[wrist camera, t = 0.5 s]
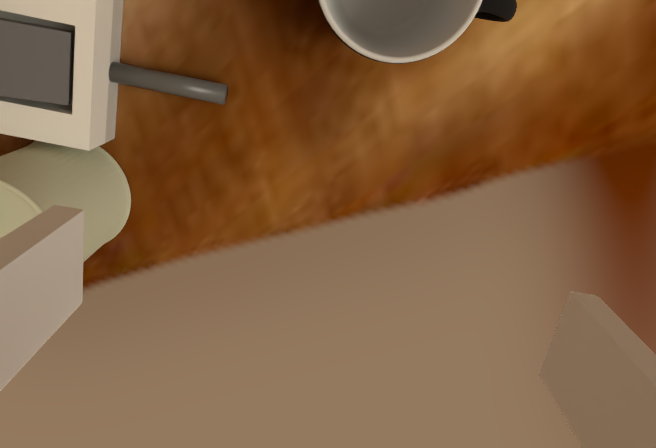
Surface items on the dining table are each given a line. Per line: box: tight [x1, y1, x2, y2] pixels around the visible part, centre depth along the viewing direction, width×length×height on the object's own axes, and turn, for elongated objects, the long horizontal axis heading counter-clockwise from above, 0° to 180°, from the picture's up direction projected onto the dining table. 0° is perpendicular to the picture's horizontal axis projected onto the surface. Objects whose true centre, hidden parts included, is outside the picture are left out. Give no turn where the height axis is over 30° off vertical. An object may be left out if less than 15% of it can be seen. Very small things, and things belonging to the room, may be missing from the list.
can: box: [0, 141, 131, 262], centre depth 36 cm, size 9×9×12 cm
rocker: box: [0, 18, 74, 105], centre depth 34 cm, size 8×5×2 cm, turn 78°
